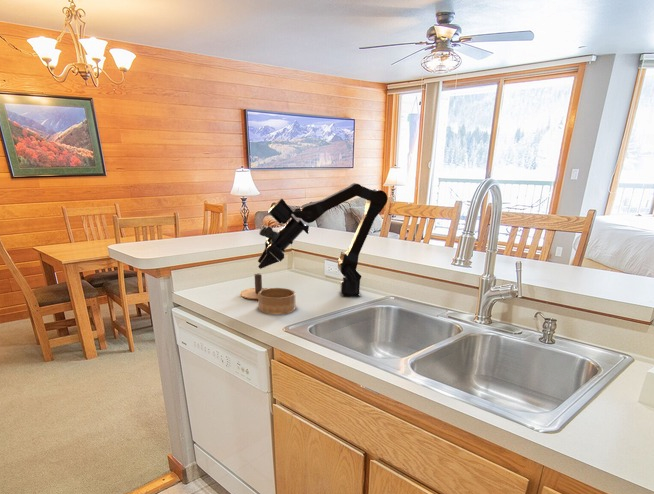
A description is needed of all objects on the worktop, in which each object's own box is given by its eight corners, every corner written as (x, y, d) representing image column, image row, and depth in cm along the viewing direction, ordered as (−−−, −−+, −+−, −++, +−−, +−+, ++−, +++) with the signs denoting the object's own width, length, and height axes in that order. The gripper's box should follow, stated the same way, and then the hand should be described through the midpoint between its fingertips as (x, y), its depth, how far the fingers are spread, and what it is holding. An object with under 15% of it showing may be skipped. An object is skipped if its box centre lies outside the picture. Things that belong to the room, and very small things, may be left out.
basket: (282, 300, 158) (282, 286, 156) (302, 310, 149) (302, 294, 147) (252, 306, 151) (251, 291, 149) (270, 316, 142) (270, 300, 140)
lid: (275, 290, 170) (275, 269, 167) (277, 300, 158) (277, 278, 155) (241, 290, 169) (239, 270, 165) (240, 301, 157) (239, 279, 153)
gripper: (271, 213, 161) (242, 244, 164) (273, 220, 144) (241, 254, 147) (292, 235, 165) (264, 265, 168) (297, 244, 148) (265, 277, 151)
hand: (258, 264), depth 159 cm, fingers open, 9 cm apart
